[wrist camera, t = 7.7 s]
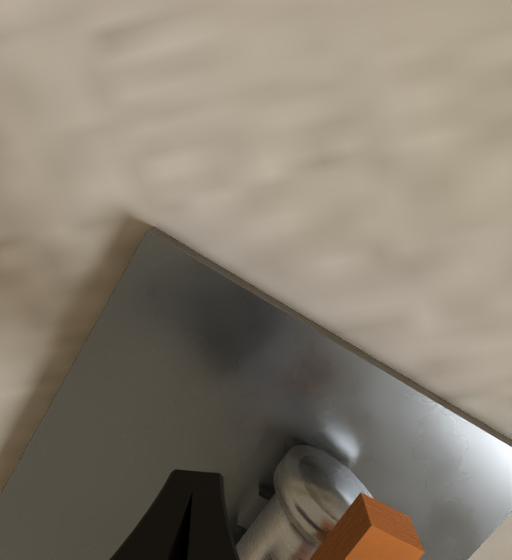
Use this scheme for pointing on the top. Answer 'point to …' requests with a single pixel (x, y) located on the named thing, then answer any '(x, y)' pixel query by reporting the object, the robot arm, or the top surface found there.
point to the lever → (371, 534)
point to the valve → (242, 427)
